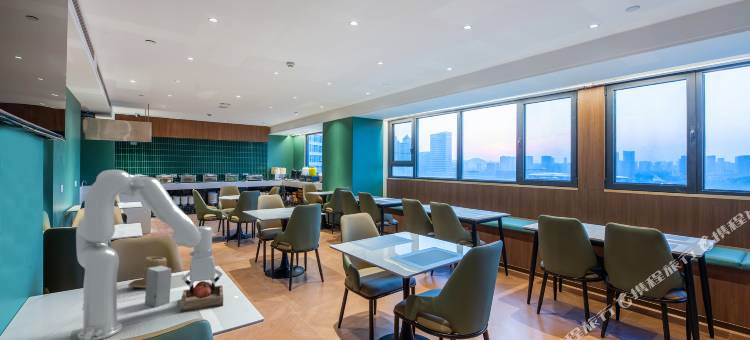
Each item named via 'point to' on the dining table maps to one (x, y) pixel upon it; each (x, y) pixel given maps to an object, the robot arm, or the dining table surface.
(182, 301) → the walnut tray
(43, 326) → the dining table surface
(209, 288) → the pomegranate
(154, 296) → the skincare box
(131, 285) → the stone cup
